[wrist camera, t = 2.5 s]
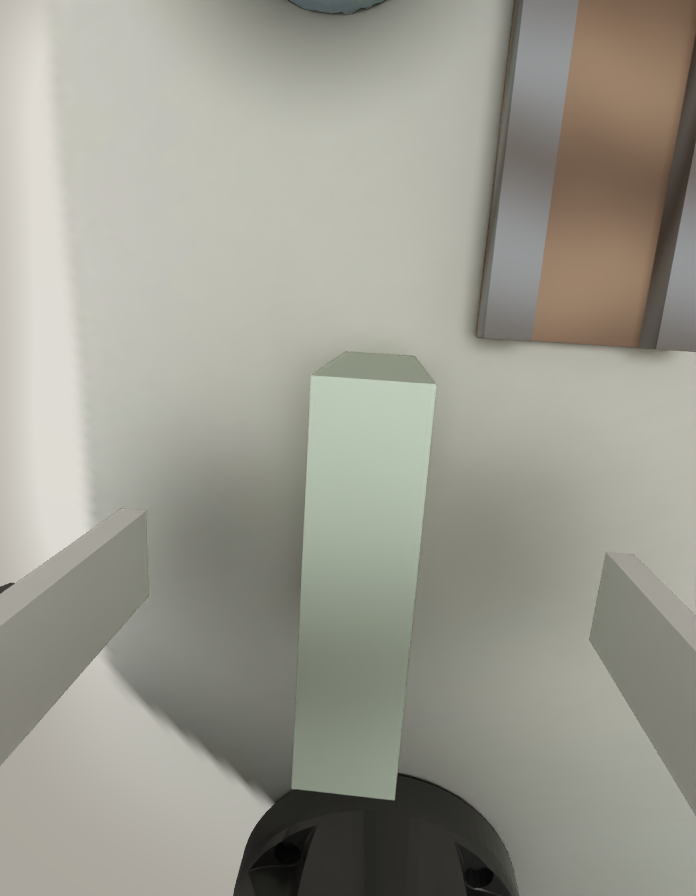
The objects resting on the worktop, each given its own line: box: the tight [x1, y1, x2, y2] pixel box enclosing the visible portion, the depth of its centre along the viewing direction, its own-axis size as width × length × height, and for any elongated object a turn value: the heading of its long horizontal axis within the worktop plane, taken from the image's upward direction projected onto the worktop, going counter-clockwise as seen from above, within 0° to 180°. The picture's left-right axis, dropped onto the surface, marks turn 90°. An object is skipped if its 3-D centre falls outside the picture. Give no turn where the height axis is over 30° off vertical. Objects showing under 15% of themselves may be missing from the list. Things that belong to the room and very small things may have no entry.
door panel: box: [291, 351, 437, 800], centre depth 20 cm, size 12×3×11 cm, turn 176°
